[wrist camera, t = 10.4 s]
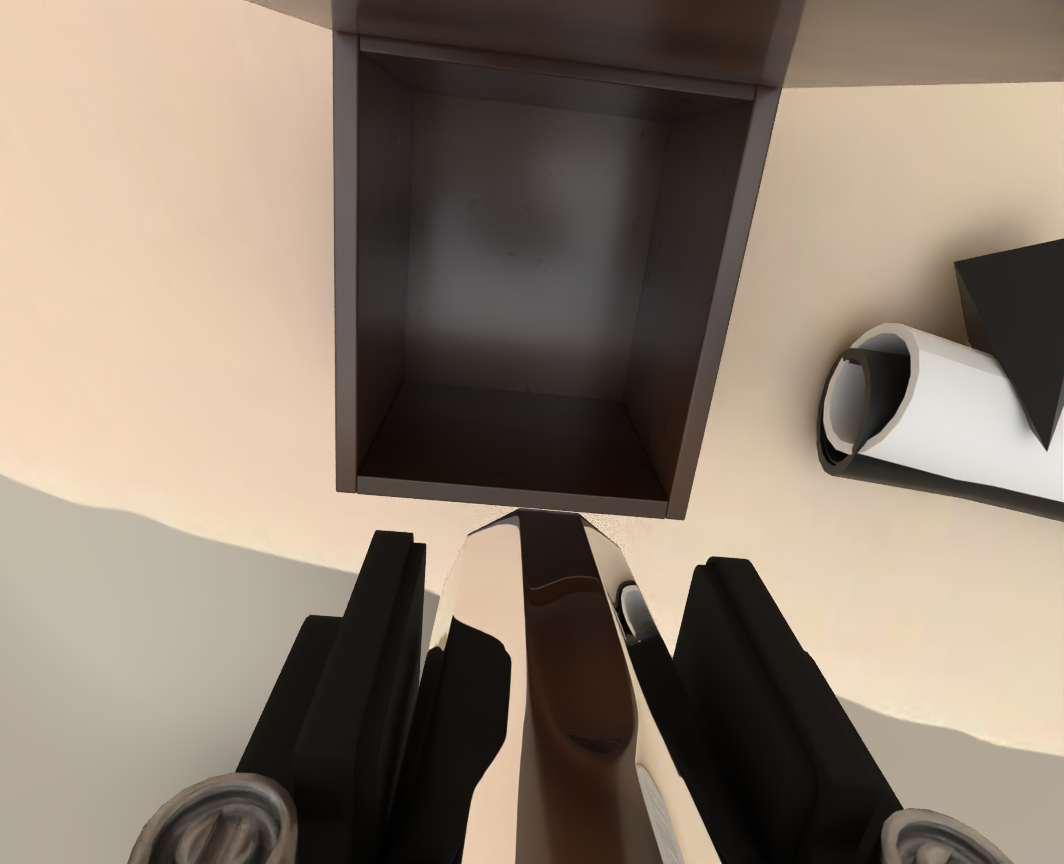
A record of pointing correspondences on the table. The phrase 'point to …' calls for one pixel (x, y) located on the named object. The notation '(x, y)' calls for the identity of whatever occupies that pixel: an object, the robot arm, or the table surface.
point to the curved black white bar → (962, 393)
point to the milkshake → (555, 717)
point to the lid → (737, 36)
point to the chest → (533, 272)
